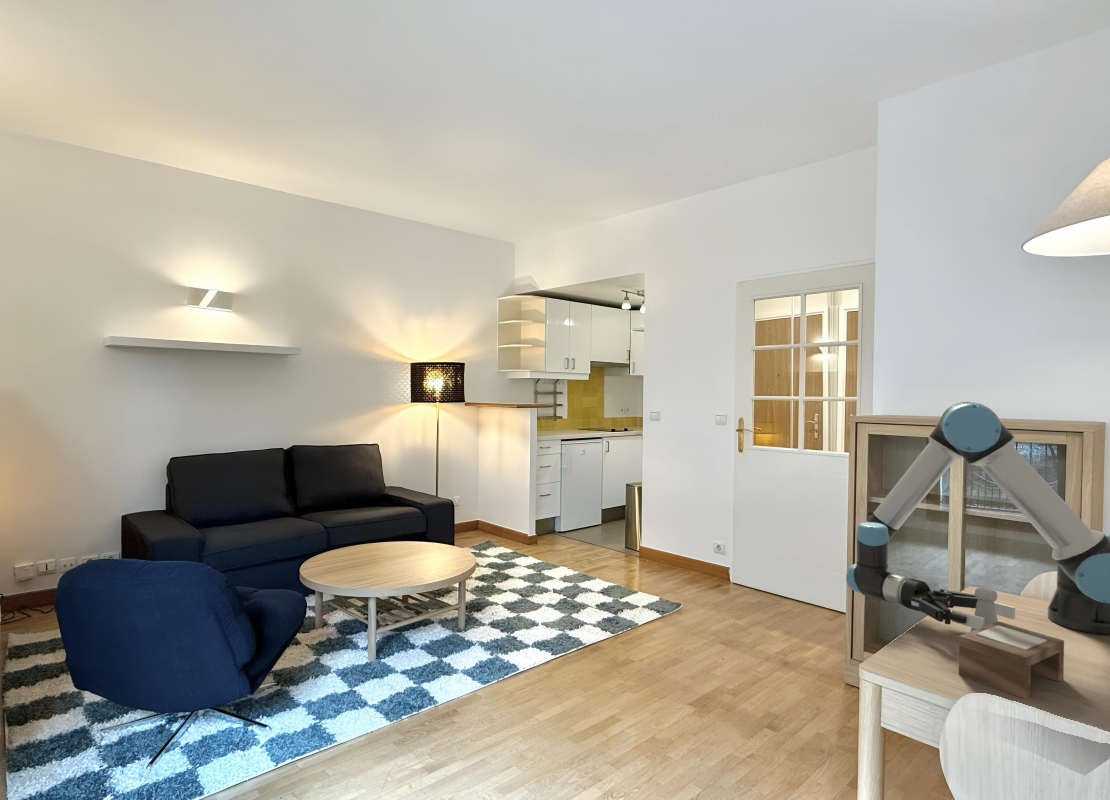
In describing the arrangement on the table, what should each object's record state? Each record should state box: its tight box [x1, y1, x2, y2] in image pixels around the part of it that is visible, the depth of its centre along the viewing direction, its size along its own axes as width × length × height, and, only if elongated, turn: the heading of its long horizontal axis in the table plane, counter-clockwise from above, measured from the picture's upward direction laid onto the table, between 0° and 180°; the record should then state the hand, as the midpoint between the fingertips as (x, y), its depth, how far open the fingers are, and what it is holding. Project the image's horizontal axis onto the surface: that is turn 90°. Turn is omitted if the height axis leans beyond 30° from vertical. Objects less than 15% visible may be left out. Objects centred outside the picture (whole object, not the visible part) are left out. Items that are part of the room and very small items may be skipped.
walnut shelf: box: [958, 621, 1065, 699], centre depth 130 cm, size 16×12×8 cm
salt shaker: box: [970, 586, 998, 632], centre depth 146 cm, size 6×6×13 cm
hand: (999, 618), depth 143 cm, fingers open, 13 cm apart
